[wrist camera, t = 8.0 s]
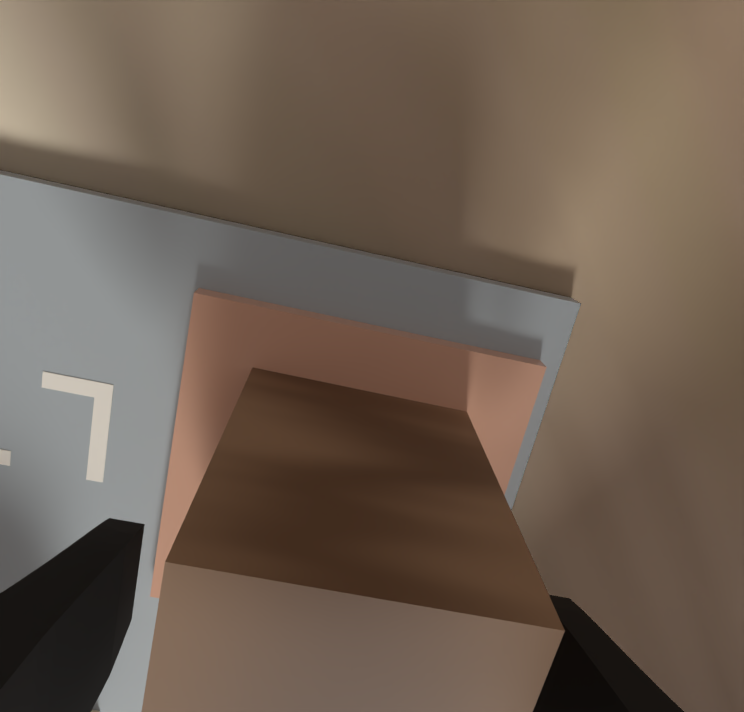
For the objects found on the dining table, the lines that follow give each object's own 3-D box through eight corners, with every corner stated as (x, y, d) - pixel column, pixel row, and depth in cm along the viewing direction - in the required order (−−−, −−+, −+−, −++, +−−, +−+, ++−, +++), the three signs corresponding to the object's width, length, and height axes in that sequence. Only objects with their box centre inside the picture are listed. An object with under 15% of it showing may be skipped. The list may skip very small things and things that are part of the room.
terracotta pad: (540, 359, 15) (546, 366, 14) (452, 632, 17) (454, 645, 17) (199, 287, 14) (193, 292, 13) (155, 583, 16) (150, 596, 16)
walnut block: (466, 411, 15) (565, 630, 8) (413, 588, 16) (458, 897, 9) (252, 367, 14) (165, 561, 7) (217, 554, 16) (118, 855, 9)
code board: (572, 297, 15) (581, 303, 14) (368, 914, 21) (368, 936, 21) (-189, 128, 13) (-214, 127, 13) (-160, 853, 20) (-176, 875, 19)
